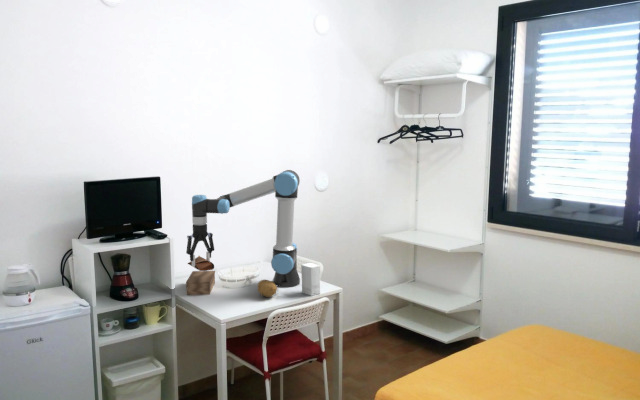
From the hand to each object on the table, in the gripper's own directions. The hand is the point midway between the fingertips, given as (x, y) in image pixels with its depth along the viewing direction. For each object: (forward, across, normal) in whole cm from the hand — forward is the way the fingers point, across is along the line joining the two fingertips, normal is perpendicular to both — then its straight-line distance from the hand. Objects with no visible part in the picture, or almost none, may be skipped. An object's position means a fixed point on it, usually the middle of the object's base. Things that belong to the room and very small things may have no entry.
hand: (200, 265), depth 270 cm
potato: (+14, -23, +31) cm, 41 cm away
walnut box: (+14, 0, 0) cm, 14 cm away
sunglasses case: (+1, 0, 0) cm, 1 cm away
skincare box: (+13, -44, +41) cm, 61 cm away
